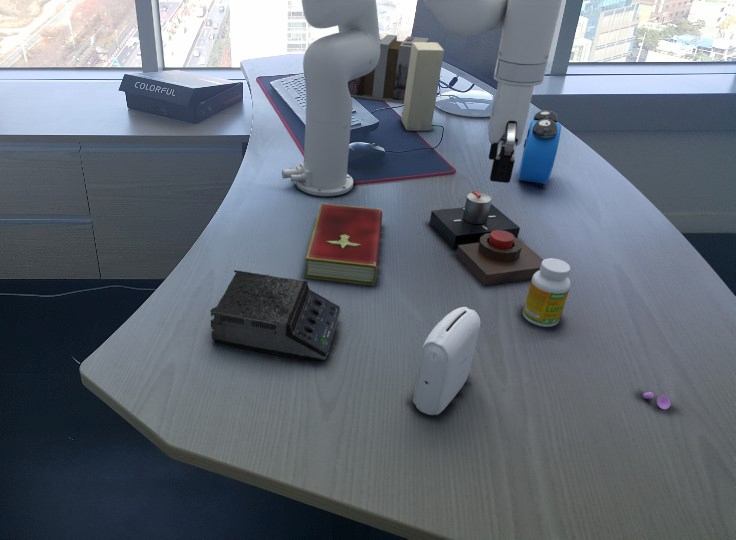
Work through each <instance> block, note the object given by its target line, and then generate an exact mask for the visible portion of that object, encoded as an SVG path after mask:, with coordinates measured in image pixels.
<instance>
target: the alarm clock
mask: <svg viewBox="0 0 736 540" xmlns="http://www.w3.org/2000/svg"><path fill="white" fill-rule="evenodd" d="M558 117H559V116H558V115H557V114H556V112H554V111H553V110H549V108H548V109H544V110H540V111H538V112H536V113H535V114H534V116H533V120H531V122H530V123H529V127H528V129H527V134H526V138H525V139H524V143H523V151H522V156H521V160H520V164H519V171H518V176H517V177H518V178H517V179H518V180H519V181H523V182H530V183H537V184H540V189H541V188H543V185H545V184H547V183H548V182H549V179H550V177H551V175H552V171H553V168H554V165H555V160H556V157H557V152H558V148H559V143H560V139H561V138H560V137H561V131H562V125H561V123H559V122H558V121H559V118H558Z"/></svg>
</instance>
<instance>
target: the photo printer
mask: <svg viewBox="0 0 736 540" xmlns="http://www.w3.org/2000/svg"><path fill="white" fill-rule="evenodd" d="M481 322H482V321H481V318H480V316H479V314H478V313H477V311H476V310H475V309H470V308H469V307H467V306H461V307H457V308H456V309H454V310H452V311H450V312H448V314H446V315H444V317H443V318H441V320H440V321H439V322H438V323H437V324H436V325H435V326H434V327H433V329H432V330H431V331H430V333H428V335H427V337H426V338H425V341H424V344H423V345H422V348H421V352H420V358H419V364H418V370H417V375H416V376H417V377H416V381H415V385H414V386H415V387H414V392H413V398H412V403H413V404H414V405H415V407H416V409H417V410H418V411H419V412H421V413H422V414H425V415H428V416H438V415H440V414H441V413H442V412H443V411H444V410H446V408H447V407H448V406H449V404H451V402H452V401H453V400H454V398H455V397H456V395H457V394H459V392H460V390H461V389H462V388H463V386H464V385H465V383H466V382H467V380H468V377H469V374H470V371H471V367H472V364H473V359H474V354H475V350H476V345H477V342H478V337H479V333H480V330H481Z"/></svg>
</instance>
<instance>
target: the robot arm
mask: <svg viewBox="0 0 736 540" xmlns="http://www.w3.org/2000/svg"><path fill="white" fill-rule="evenodd" d="M422 1H423V2H424V4H425V5H426V7H427V8H428V9H429V10H430V12H431V13H432V14H433V15H434V17H435V18H436V19H437V20H438V22H439V23H440V24H441V25H442V26H443V27H444V28H445V29H446V30H447V31H448V32H450V33H451V34H454V35H456V36H459V37H466V38H467V37H468V38H469V37H472V36H476V35H479V34H482V33H484V32H488V31H493V30H497V29H502V30H501V36H500V41H499V47H498V50H497V51H498V53H497V57H496V62H495V66H494V71H493V80H495V81H496V82H497V87H496V90H495V95H494V99H493V104H492V109H491V113H490V118H489V121H488V128H487V129H488V130H487V131H488V132H487V133H488V134H487V135H488V141H489V143H490V148H489V154H488V158H489V160H492V166H491V169H490V170H491V171H490V176H489V180H490V182H496V183H505V184H508V183H510V182H511V180H512V179H511V178H512V174H513V170H514V166H515V162H516V161H515V158H516V157H515V156H516V151H517V150H516V149H517V147H518V146H520V145H521V143H522V140H523V136H524V132H525V129H526V125H527V120H528V117H529V113H530V108H531V103H532V100H533V93H534V89H535V86H540V85H541V84H543V83H544V79H545V74H546V69H547V66H548V62H549V61H548V60H549V57H550V53H551V48H552V44H553V40H554V36H555V31H556V27H557V22H558V18H559V14H560V10H561V5H562V0H422ZM301 6H302V11H303V16H304V19H305V20H306V22H307V24H308V25H309V26H311V27H312V28H314V29H318V30H319V29H321V30H322V29H330V28H333V27H337V28H338V32H336V33H332V34H328V35H325V36H322V37H320V38H318V39H315V40H314V41H313V42H311V44H310V45H309V46H308V47H307V48H306V50H305V52H304V55H303V57H302V58H303V59H302V69H303V70H302V71H303V77H304V85H305V126H304V127H305V128H304V151H303V152H304V153H303V161H302V162H301V161H299V166H296V167H295V168H286V169H284V168H283V169H282V170H281V178H282V179H290V182H295V185H296V187H297V188H298V189H299V190H300V191H302V192H303V193H306V194H309V195H313V196H319V197H335V196H336V197H337V196H341V195H344V194H347V193H349V192H350V191H351V190H352V189H353V188H354V179H353V177H352V175H350V174H348V165H349V154H350V143H351V142H350V141H351V131H352V120H353V119H352V117H353V99H352V97H351V95H350V92H349V89H348V81H351V80H353V79H356V78H359V77H362V76H364V75H366V74H368V73H370V72H371V71H373V70H374V68H375V67H376V66H377V64H378V61H379V58H380V39H381V37H380V28H379V27H380V26H379V17H378V7H377V6H378V5H377V0H301Z"/></svg>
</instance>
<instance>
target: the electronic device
mask: <svg viewBox="0 0 736 540" xmlns="http://www.w3.org/2000/svg"><path fill="white" fill-rule="evenodd" d="M233 272H234V275H233V277H232V279H231V281H230V282H229V283H228V285H227V288H226V290H225V292H224V293H223V294H222V296H221V298H220V300H219V301H218V304H217V305H216V306H215V307H213V308H211V309H210V316H211V317H213V318H212V319H210V327H211V329H212V330H211V339H212V340H213V341H214V342H216V343H222V344H225V345H228V346H232V347H234V348H237V349H244V350H246V349H247V350H251V351H254V352H255V351H256V352H259V353H260V352H261V353H264V354H269V355H270V354H272V355H273V354H274V355H278V356H281V357H285V358H288V359H289V358H295V359H299V360H302V361H303V360H311V361H312V360H314V361H325V360H326V359H327V358H328V355H329V354H330V353H329V351H330V348H331V346H332V343H333V340H334V334H335V331H336V328H337V324H338V320H339V317H340V313H341V307H340V305H338V304H336V303H334V302H332V301H330V300H329V299H328V298H325V297H324V296H323V295H320V294H319V293H316V292H315V291H313V290H312V289H310V287H309V281H307V280H303V279H295V278H288V277H287V278H286V277H281V276H274V275H270V274H262V273H261V274H260V273H255V272H250V271H243V270H236V269H234V270H233Z"/></svg>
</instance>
